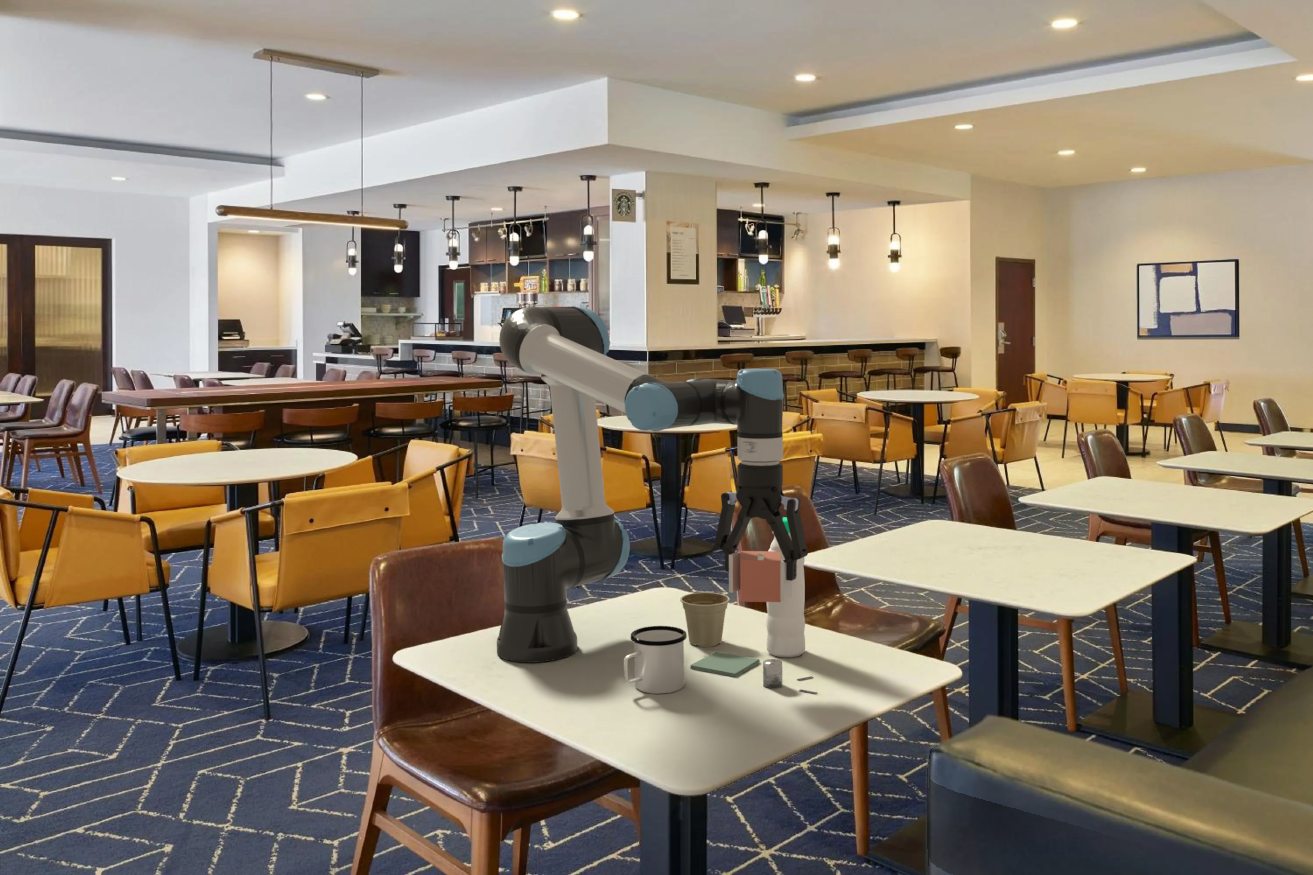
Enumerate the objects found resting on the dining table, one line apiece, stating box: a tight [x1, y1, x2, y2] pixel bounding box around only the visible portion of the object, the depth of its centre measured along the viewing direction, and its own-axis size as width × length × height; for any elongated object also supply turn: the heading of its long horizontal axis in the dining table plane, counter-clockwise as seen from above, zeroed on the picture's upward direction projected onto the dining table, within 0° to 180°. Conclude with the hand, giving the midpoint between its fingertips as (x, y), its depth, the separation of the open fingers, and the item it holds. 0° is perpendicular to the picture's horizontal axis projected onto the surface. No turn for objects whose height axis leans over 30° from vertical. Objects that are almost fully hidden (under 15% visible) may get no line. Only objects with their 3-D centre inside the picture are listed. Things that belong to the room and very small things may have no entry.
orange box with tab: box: [739, 550, 781, 603], centre depth 172 cm, size 7×7×8 cm
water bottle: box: [766, 516, 806, 658], centre depth 188 cm, size 7×7×25 cm
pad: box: [690, 651, 761, 678], centre depth 183 cm, size 9×9×1 cm
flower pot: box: [680, 591, 730, 648], centre depth 196 cm, size 9×9×9 cm
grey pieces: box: [762, 658, 818, 695], centre depth 172 cm, size 10×9×4 cm
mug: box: [623, 625, 688, 695], centre depth 172 cm, size 12×10×9 cm
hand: (760, 594), depth 173 cm, fingers closed on orange box with tab, 9 cm apart
